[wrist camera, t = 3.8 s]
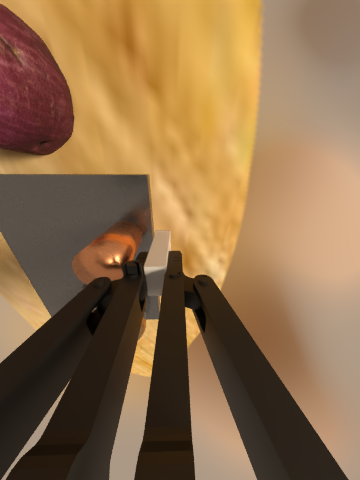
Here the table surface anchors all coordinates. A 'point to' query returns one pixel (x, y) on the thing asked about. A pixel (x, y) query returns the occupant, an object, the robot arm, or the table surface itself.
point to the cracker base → (70, 226)
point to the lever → (108, 253)
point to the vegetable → (31, 91)
